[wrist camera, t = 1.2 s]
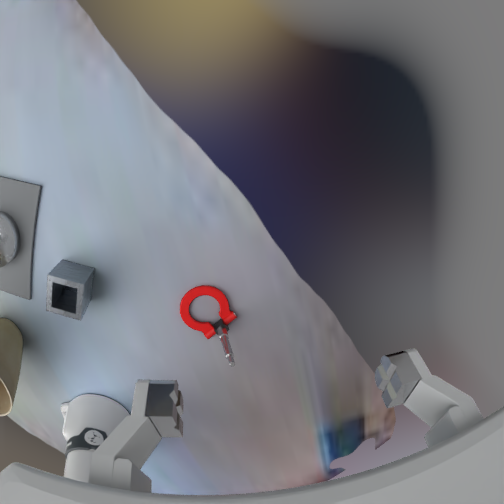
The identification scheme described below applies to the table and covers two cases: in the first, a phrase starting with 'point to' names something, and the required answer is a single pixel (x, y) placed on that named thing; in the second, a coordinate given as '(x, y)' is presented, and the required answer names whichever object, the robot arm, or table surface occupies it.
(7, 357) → the plant pot
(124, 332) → the table surface
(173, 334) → the table surface
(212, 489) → the table surface
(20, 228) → the mat
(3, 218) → the ratchet
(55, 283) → the hollow square tube
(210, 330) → the tow hook
